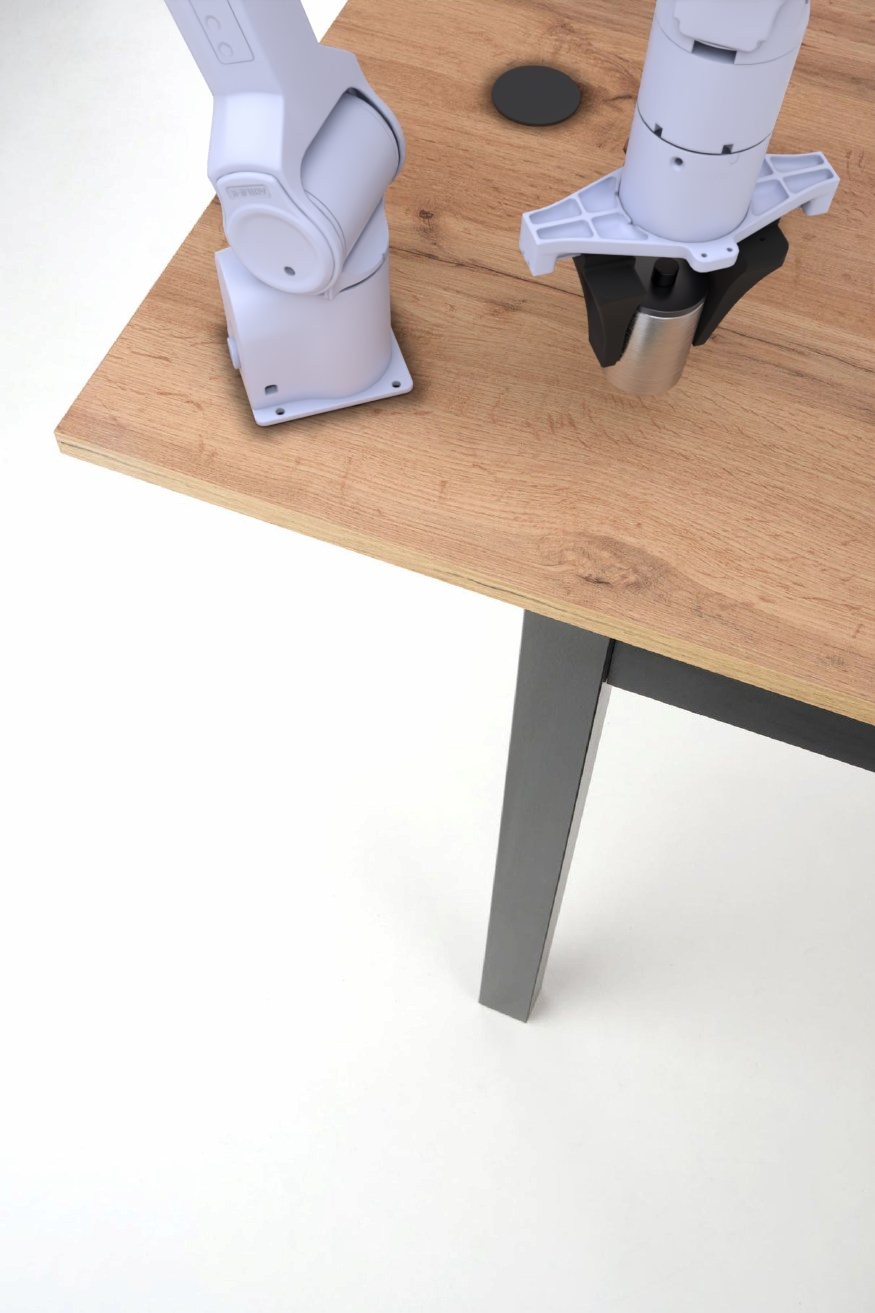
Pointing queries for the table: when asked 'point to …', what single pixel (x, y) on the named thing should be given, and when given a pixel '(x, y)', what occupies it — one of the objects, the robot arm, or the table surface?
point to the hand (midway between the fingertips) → (646, 341)
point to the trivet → (536, 95)
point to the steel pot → (660, 327)
